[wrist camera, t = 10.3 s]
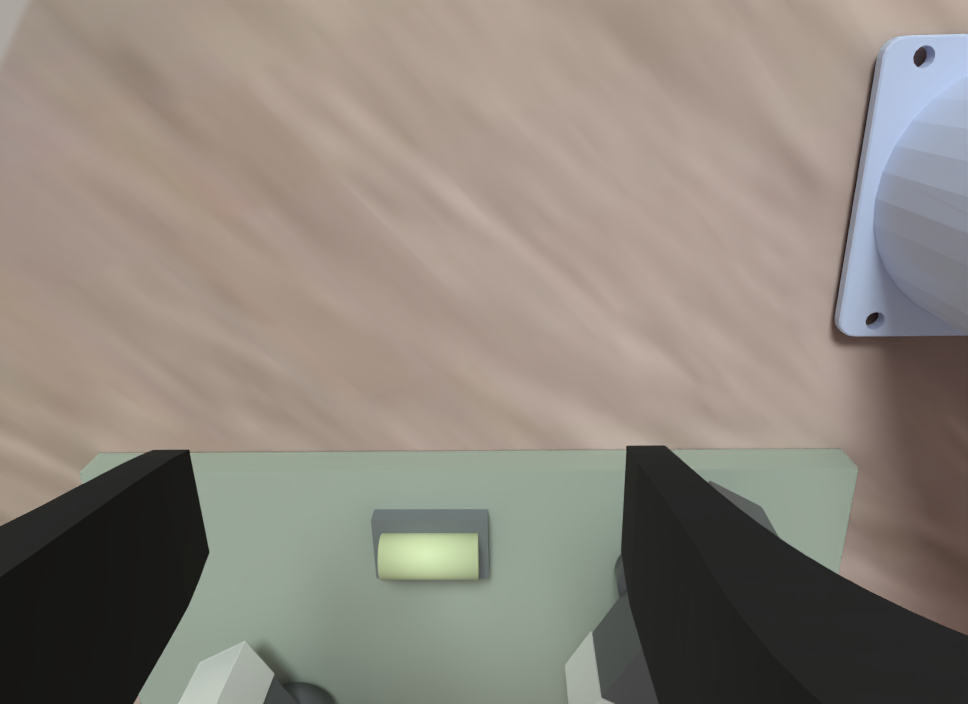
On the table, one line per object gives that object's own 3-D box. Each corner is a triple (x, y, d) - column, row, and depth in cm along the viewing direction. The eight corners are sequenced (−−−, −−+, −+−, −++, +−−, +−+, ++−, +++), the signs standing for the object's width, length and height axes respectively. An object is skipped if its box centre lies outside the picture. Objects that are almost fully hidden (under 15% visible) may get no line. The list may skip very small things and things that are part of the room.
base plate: (841, 448, 23) (883, 498, 20) (784, 765, 28) (812, 837, 26) (99, 453, 24) (49, 501, 21) (176, 759, 29) (144, 828, 27)
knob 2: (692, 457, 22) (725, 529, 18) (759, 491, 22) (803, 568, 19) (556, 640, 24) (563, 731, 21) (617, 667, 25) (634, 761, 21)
